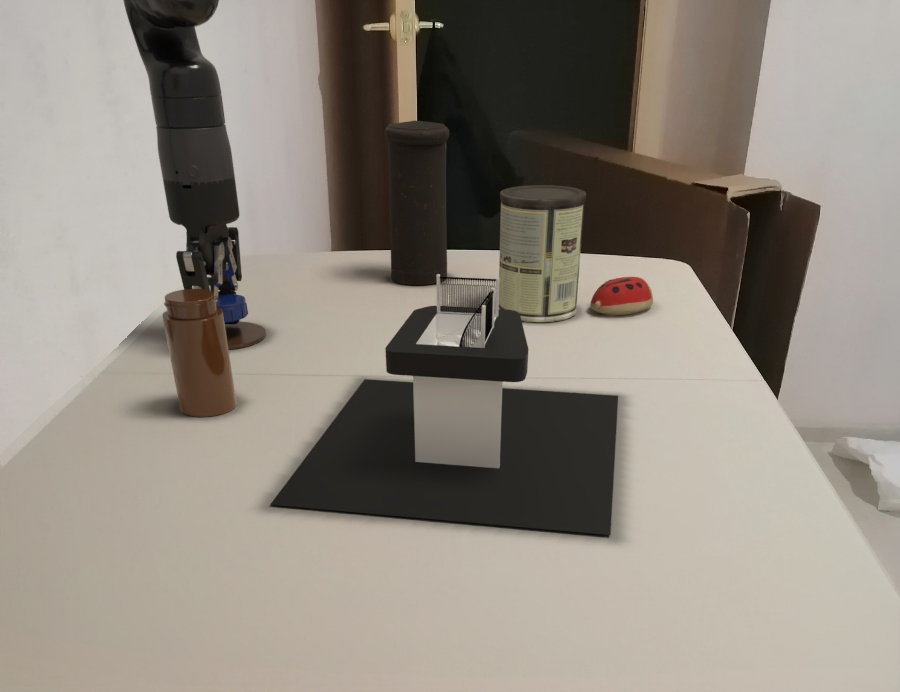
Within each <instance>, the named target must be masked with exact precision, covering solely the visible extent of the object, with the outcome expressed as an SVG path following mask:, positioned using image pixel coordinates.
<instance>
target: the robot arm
mask: <svg viewBox="0 0 900 692" xmlns="http://www.w3.org/2000/svg"><path fill="white" fill-rule="evenodd" d="M122 1H123V5H124V9H125V14H126V16H127V20H128V23H129V26H130V29H131V32H132V35H133V38H134V42H135V44H136V48H137V50H138V53H139V56H140V58H141V61H142V64H143V67H144V68H145V71H146V74H147V78H148V85H149V92H150V100H151V104H152V110H153V116H154V122H155V125H156V127H155V129H156V138H157V139H156V140H157V141H156V143H157V154H158V160H159V165H160V170H161V177H162V184H163V188H164V193H165V200H166V205H167V206H166V207H167V212H168V216H169V219H170V222H172V223H173V224H175V225H178V226H182V227H184V228H185V230H186V232H185V233H186V234H185V235H186V243H185V250H177V251H176V253H175V254H176V255H175V257H176V262H177V266H178V271H179V275H180V279H181V283H182V287H183V290H185V289H205V290H209V291H212V292H213V293H214V294H215V296H216V298H215V301H216V307H218V308H219V306H218V303H219V301H218V295H219V294H237V291H238V290H239V283H238V282H241V281H242V279H243V273H242V262H241V249H240V238H239V237H240V236H239V235H240V233H239V229H238V227H237V226H227V225H228V224H229V225H230V224H232V223H235V222H236V221H237V220H238V219H239V218H240V207H239V199H238V192H237V183H236V177H235V168H234V161H233V153H232V147H231V142H230V138H229V134H228V131H227V125H226V119H225V117H226V116H225V111H224V104H223V95H222V89H221V88H222V87H221V83H220V78H219V74H218V71H217V68H216V66H215V65H214V64H213V63H212V62H211V61H210V60H209V59H207V58H206V57H205V56H204V55H203V53H202V50H201V47H200V43H199V38H198V35H197V30H196V27H199V26H202V25H204V24H206V23H207V22H209V20H211V18H213V17H214V14H215V13H216V11H217V8H218V7H219V2H220V0H122ZM239 321H240V322H241V319H240V320H237V321H233V322H228V323H225V324H237V323H238V322H239Z"/></svg>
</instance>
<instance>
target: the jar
mask: <svg viewBox="0 0 900 692" xmlns="http://www.w3.org/2000/svg"><path fill="white" fill-rule="evenodd" d="M215 298H216V296H215V294H214V293H213V292H212V291H209V290H205V289H185V290H184V289H178V290H174V291H171V292H168V293H167V294H165V295H164V307H165V308H166V311H164V312H163V313H162V316H161V317H162V321H163V327H164V333H165V338H166V342H167V348H168V354H169V358H170V364H171V369H172V374H173V379H174V380H173V381H174V384H175V385H174V386H175V388H176V389H175V390H176V395H177V400H178V405H179V410H180V412H181V413H182V414H184V415H187V416H190V417H197V418H207V417H215V416H220V415H224V414H227V413H229V412H231V411H233V410H234V409H235V408H236V407H237V403H238V402H237V396H236V389H235V383H234V376H233V371H232V362H231V357H230V350H229V349H228V343H227V336H226V330H225V323H224V316H223V311H222V309H220V308H218V307H216V301H215Z"/></svg>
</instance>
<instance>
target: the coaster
mask: <svg viewBox="0 0 900 692" xmlns="http://www.w3.org/2000/svg"><path fill="white" fill-rule="evenodd" d="M225 330H226V336H227V343H228V349H229V351H232V350H237V349H238V350H239V349H243V348H248V347H250V346H253V345H256V344H259V343H260V342H262V341H264V339H266V337H267V330H266V328H265V327H264V326H262V325H260V324H257V323H253V322H249V321H241V320H240V321H239V322H238V323H237V324H225Z"/></svg>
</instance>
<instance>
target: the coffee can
mask: <svg viewBox="0 0 900 692" xmlns="http://www.w3.org/2000/svg"><path fill="white" fill-rule="evenodd" d="M499 198H500V220H499V221H500V223H499V224H500V226H499V262H498V263H499V265H498V266H499V268H498V278H499V309H505V310H514V311H517V312H518V313H519V315H520V316H521V320H522V322H527V323H554V322H559V321H565V320H567V319H570V318H572V317H574V316H576V314H577V312H578V311H577V305H578V304H577V303H578V293H579V291H578V290H579V277H580V264H581V263H580V262H581V251H582V250H581V249H582V240H583V226H584V214H585V213H584V212H585V201H586V199H587V192H586V191H585V190H583V189H580V188H577V187H573V186H565V185H552V184H533V185H532V184H531V185H518V186H512V187H507V188H505V189H504V188H503V189H502V190H501V191H500V192H499Z"/></svg>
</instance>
